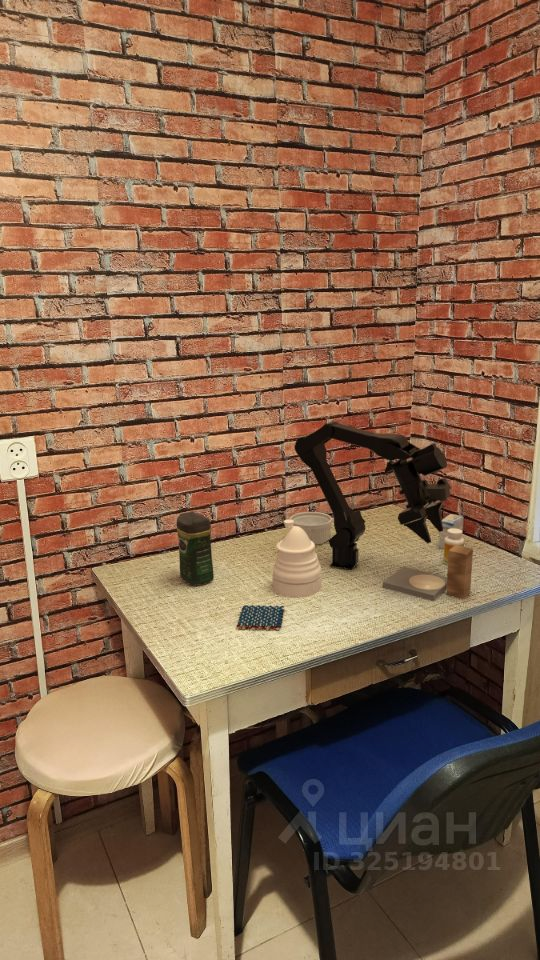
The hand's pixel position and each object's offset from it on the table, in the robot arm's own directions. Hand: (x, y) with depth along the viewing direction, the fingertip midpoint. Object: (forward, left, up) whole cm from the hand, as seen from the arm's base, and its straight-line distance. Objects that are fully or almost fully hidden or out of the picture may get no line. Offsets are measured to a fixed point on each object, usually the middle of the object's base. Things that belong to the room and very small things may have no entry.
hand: (435, 536), depth 165 cm
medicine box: (-1, +29, -13) cm, 31 cm away
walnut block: (+7, -4, -13) cm, 15 cm away
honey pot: (-33, -14, -13) cm, 38 cm away
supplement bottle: (+2, +16, -13) cm, 21 cm away
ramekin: (-42, +19, -13) cm, 47 cm away
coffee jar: (-60, -20, -13) cm, 64 cm away
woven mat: (-34, -34, -14) cm, 50 cm away
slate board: (-4, -3, -13) cm, 14 cm away
